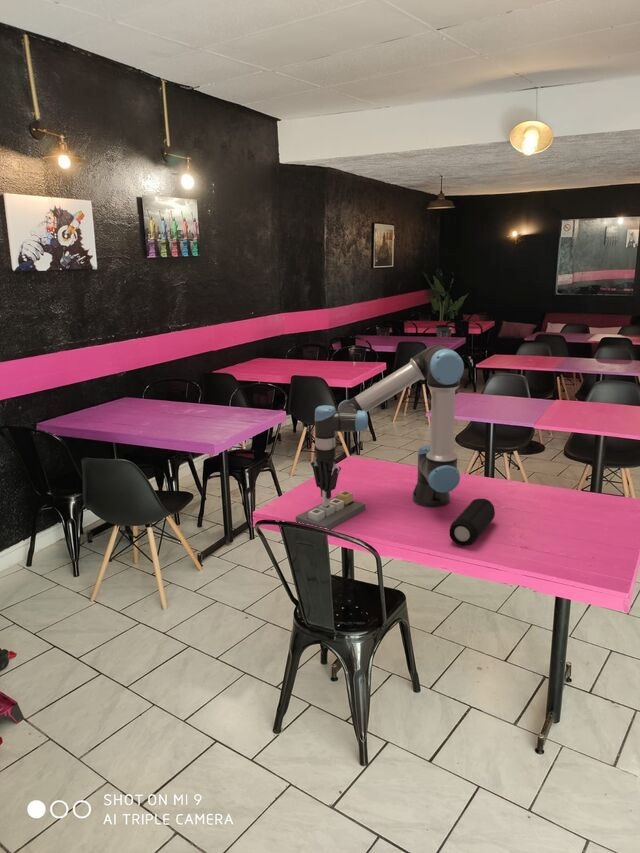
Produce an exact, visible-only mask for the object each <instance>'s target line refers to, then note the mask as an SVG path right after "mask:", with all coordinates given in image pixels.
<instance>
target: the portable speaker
mask: <svg viewBox="0 0 640 853" xmlns="http://www.w3.org/2000/svg"><path fill="white" fill-rule="evenodd" d="M495 513H496V512H495V506H494V504H493V503H492V502H491V501H490V500H488V499H487V498H476V499H474V500H472V501H471V502H470V503H469V504H468V506H466V507H465V509H464V510H463V511H462V512H461V513H460V514H459V515H458V516H457V517H456V518H455V519H454V520H453V522H452V523H451V524H450V526H449V538H450V539H451V541H452V542H453V543H454V544H456V545H457V546H460V547H467V546H471V545H473V544H474V543H475V542H476V541H477V540H478V538H479V537H480V536H481V535H482V533H483V532H484V531H485V530H486V528H487V527H488V526H489V525H490V523H492V522H493V520H494V518H495Z"/></svg>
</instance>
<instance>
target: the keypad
mask: <svg viewBox="0 0 640 853" xmlns="http://www.w3.org/2000/svg"><path fill="white" fill-rule="evenodd" d="M335 498H336V499H338V496H337V495H336V496H334V497H331V498H330V501H331V500H333V499H335ZM321 505H322V503H320V504H318V505H316V506H314V507H312V508H310V509H309V510H307V511H304V512H302V513H301V514H299V515H297V516H295V523H296V522H300V523H304V524H309V525H313V526H317V527H322V528H327V529H330V530H332V529H334V528H335V527H337V526H339V525H341V524H342V523H344V522H346V521H348V520H350V519H352V518H354V517H355V516H356V515H358V514H360V513H362V512H363V511H366V503H363V502H362V501H357V500H354V499H353V501H352V502H350V503H348V504H344V508H343V509H341V510H339V511H335V513H334V514H332V515H330V516H328V517H327V516H325V519H323V520H321V521H319V522H315V521H312V520H309V519H308V512H309V511H311V510H313V509H315V508H316V509H318V507H319V506H321Z"/></svg>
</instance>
